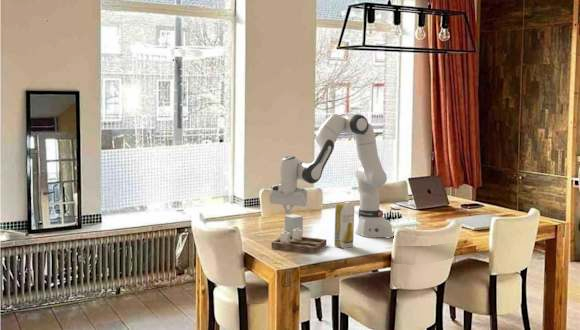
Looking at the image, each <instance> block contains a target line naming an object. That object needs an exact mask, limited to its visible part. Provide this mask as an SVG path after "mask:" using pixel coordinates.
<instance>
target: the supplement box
mask: <svg viewBox="0 0 580 330" xmlns="http://www.w3.org/2000/svg"><path fill="white" fill-rule="evenodd" d="M303 221H304V218H303V216H302V215H298V214H296V213H295V214H293V213H292V214H286V215H284V232H285V231H287V232H289V233H290V235H292V232H293V230H294V229H296V228H299V229H302V237H304V236H303V229H304V228H303V227H304V226H303V225H304V222H303Z"/></svg>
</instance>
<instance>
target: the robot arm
mask: <svg viewBox="0 0 580 330" xmlns="http://www.w3.org/2000/svg"><path fill="white" fill-rule="evenodd" d="M341 134H348V135H354V137H355V144H356V151H357V158H358V159H359V161H360V163H361V165H359V166H358V167H356V169H355V173H354V175H355V177H356V179H357V185H358V190H359V208H358V214H357V215H358V222H357V228H356V231H355V233H356V234H357V235H359V236H361V237H363V236H364V238H376V237H393V235H394V232H395V231H393V227H392V224H391V222H390V221H389V220H387V219H386V218H385V217H384V216H383V215H384V214H383V212H384V210H381V209H380V194H379V190H378V188H380V187H382V186H384V185H385V184H386V182H387V179H388V177H387V173H386V172H385V170H384V168H383V165H382V163H381V160H380V157H379V154H378V153H379V152H378V147H377V140H376V134H375V131H374V128H373V126H372V124H371V123H369V122H368V119H367V118H366V117H365V116H364V115H362V114H356V113H342V114H337V113H332V114H330V115H329V117H327V119H326V120H324V122H323V123H322V124H321V126H320V127H319V128H318V130H317V132H316V135H315V140H316V143H317V145H318V146H319V147H320V149H319V151H318V153H317V155H316V157H315V159H314V160H313V161H312V162H311V163H309V162H305V161H303V160H300V159H298V158H297V157H296V156H294V155H293V156H292V155H290V156H285V157H283V158H281V160H280V161H281V162H280V165H279V167H280V169H279V172H280V173H279V175H280V180H279V183H278V184H274V185H272V186H271V187H270V189H271V191H270V192H269V204H272V205H282V208H283V209H284V213H285V214H291V213H292V209H293V208H294V206H297V207H306V206H307V205H308V197H307V196H308V191H307V190H306V189H305V188H303V187H302V188H299V187H297V184H298V180H300V181H304V182H305V183H309V184H311V185H313V184H316V183H317V182H319V180H320V179H321V178H322V175H323V171H324V169H325V166H326V165H327V163H328V161H329V160H330V157H331V155H332V153H333V152H334V148H335V143H336V142H337V140H338V138H339V137H340V135H341ZM287 206H289V209H288V207H287ZM393 238H394V237H393Z"/></svg>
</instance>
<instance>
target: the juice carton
mask: <svg viewBox="0 0 580 330" xmlns="http://www.w3.org/2000/svg"><path fill="white" fill-rule="evenodd" d="M334 211H335V212H334V246H335V247H337V248H340V249H345V248H351V247H353V246H354V235H355V234H354V233H355V232H354V231H355V230H354V229H355V227H354V226H355V204H354V203H351V202H350V201H344V202H342V203H335V210H334Z"/></svg>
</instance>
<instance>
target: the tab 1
mask: <svg viewBox="0 0 580 330" xmlns="http://www.w3.org/2000/svg"><path fill="white" fill-rule="evenodd" d="M279 238H280V242H282V243H288V244H290V233H289V232H287V231H285V230H284V231H282V232H280V237H279Z"/></svg>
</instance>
